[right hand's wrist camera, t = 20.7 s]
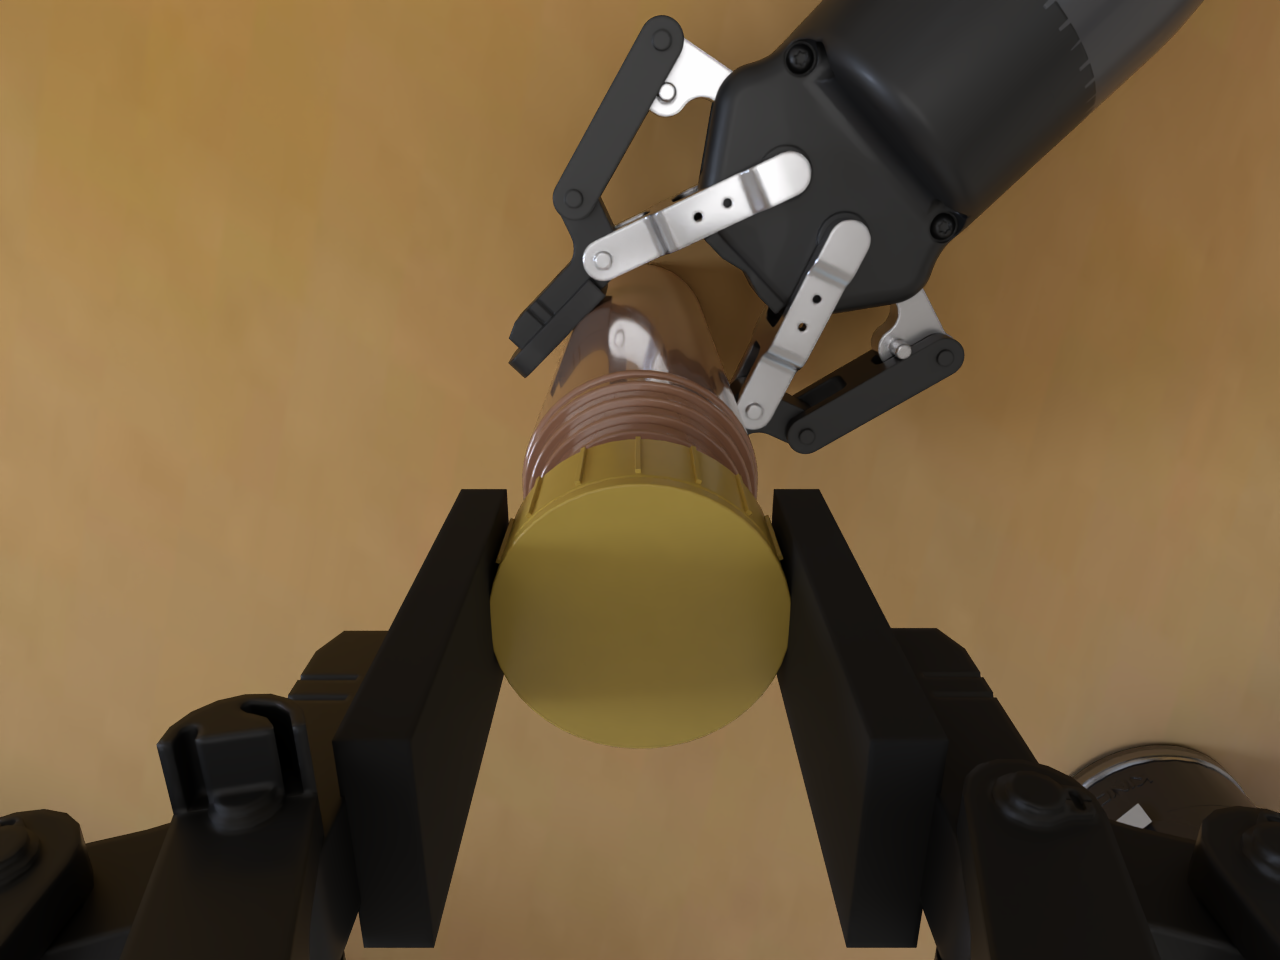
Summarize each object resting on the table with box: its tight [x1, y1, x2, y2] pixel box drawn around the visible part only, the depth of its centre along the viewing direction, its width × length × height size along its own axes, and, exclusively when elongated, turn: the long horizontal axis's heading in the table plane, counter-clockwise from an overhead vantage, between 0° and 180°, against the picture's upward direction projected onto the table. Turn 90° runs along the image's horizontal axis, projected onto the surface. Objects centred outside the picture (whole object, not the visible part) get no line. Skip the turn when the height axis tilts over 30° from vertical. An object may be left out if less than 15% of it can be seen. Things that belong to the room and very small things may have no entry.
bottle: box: [522, 264, 758, 501], centre depth 24 cm, size 5×5×22 cm
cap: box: [490, 436, 791, 749], centre depth 14 cm, size 5×5×2 cm
